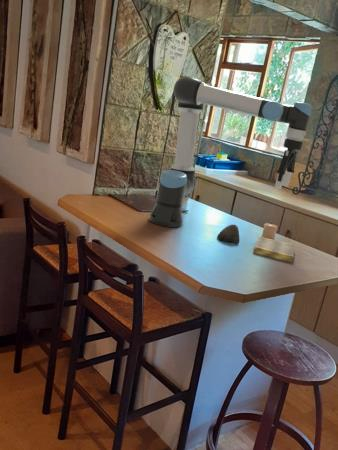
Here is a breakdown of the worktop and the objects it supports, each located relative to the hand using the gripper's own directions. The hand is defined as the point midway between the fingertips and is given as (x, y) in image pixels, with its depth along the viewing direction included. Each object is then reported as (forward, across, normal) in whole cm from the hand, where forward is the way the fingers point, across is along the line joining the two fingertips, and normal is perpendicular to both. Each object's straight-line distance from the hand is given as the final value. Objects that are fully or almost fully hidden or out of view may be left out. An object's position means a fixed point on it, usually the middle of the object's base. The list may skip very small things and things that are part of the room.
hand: (281, 187), depth 196 cm
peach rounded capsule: (+26, +4, +1) cm, 26 cm away
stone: (+26, -16, +13) cm, 34 cm away
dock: (+26, -12, -6) cm, 29 cm away
